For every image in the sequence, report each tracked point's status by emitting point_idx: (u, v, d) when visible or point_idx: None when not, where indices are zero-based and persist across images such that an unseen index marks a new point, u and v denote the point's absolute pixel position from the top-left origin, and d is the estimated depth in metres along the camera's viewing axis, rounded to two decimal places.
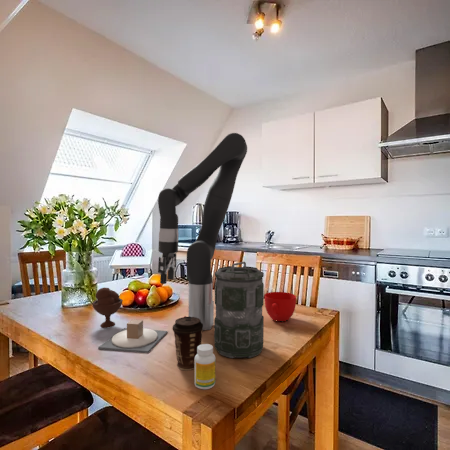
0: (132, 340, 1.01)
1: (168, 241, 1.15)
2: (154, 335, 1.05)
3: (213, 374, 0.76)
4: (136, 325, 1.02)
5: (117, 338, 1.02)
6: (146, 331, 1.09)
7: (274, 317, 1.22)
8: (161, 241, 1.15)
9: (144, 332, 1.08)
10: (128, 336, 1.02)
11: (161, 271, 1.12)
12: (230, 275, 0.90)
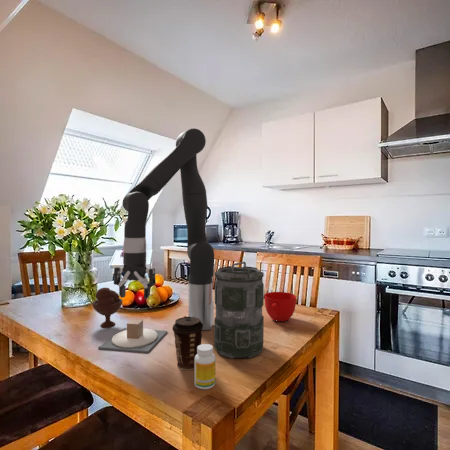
0: (132, 340, 1.01)
1: None
2: (154, 335, 1.05)
3: (213, 374, 0.76)
4: (136, 325, 1.02)
5: (117, 338, 1.02)
6: (146, 331, 1.09)
7: (274, 317, 1.22)
8: (141, 252, 1.01)
9: (144, 332, 1.08)
10: (128, 336, 1.02)
11: (154, 283, 1.03)
12: (230, 275, 0.90)
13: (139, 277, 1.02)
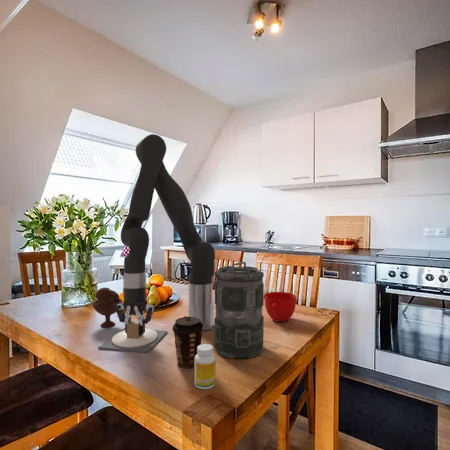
0: (132, 340, 1.01)
1: None
2: (154, 335, 1.05)
3: (213, 374, 0.76)
4: (136, 325, 1.02)
5: (117, 338, 1.02)
6: (146, 331, 1.09)
7: (274, 317, 1.22)
8: (141, 287, 1.02)
9: None
10: (128, 336, 1.02)
11: (149, 320, 1.03)
12: (230, 275, 0.90)
13: (137, 313, 1.02)
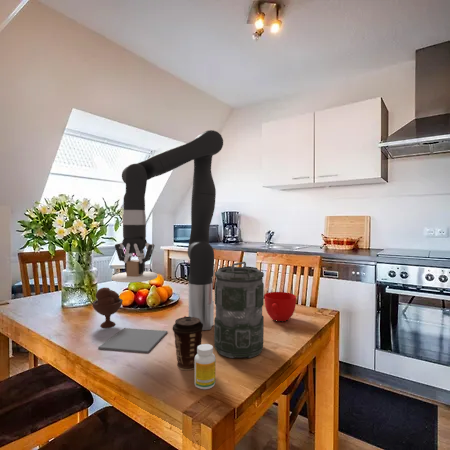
0: (132, 277, 1.00)
1: (145, 224, 1.04)
2: (154, 274, 1.05)
3: (213, 374, 0.76)
4: (136, 262, 1.01)
5: (116, 276, 1.02)
6: (146, 272, 1.08)
7: (274, 317, 1.22)
8: (141, 224, 1.01)
9: (144, 273, 1.07)
10: (128, 274, 1.02)
11: (148, 259, 1.03)
12: (230, 275, 0.90)
13: (137, 250, 1.01)
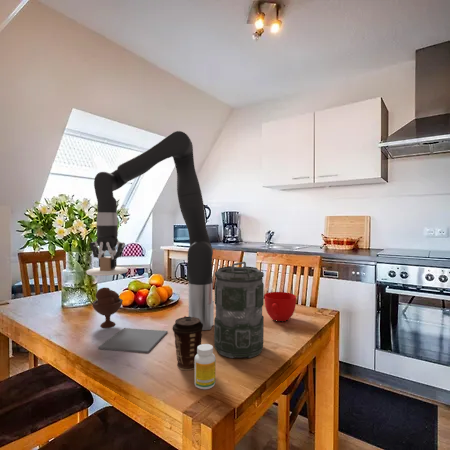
0: (104, 271, 1.14)
1: (117, 224, 1.18)
2: (125, 269, 1.19)
3: (213, 374, 0.76)
4: (108, 258, 1.15)
5: (91, 270, 1.16)
6: (118, 268, 1.22)
7: (274, 317, 1.22)
8: (113, 225, 1.15)
9: (116, 268, 1.21)
10: (101, 269, 1.16)
11: (119, 255, 1.17)
12: (230, 275, 0.90)
13: (109, 248, 1.16)
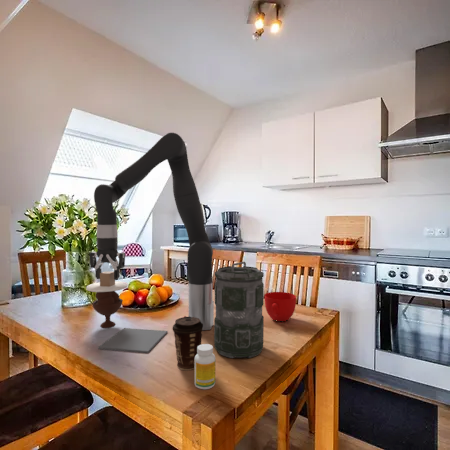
0: (104, 287, 1.14)
1: (117, 236, 1.18)
2: (125, 284, 1.19)
3: (213, 374, 0.76)
4: (108, 274, 1.16)
5: (91, 286, 1.16)
6: (118, 282, 1.22)
7: (274, 317, 1.22)
8: (112, 237, 1.15)
9: (116, 283, 1.21)
10: (101, 284, 1.16)
11: (122, 266, 1.17)
12: (230, 275, 0.90)
13: (110, 260, 1.16)
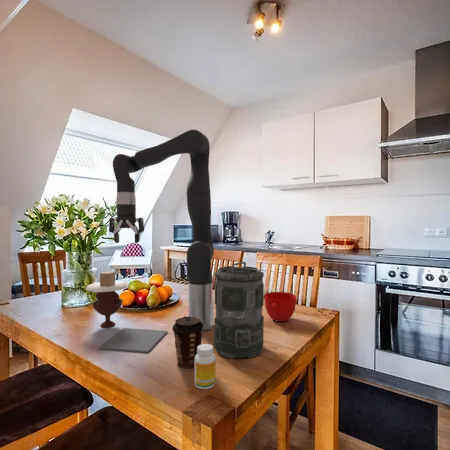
0: (104, 287, 1.14)
1: (135, 204, 1.26)
2: (125, 284, 1.19)
3: (213, 374, 0.76)
4: (108, 274, 1.16)
5: (91, 286, 1.16)
6: (118, 282, 1.22)
7: (274, 317, 1.22)
8: (132, 204, 1.23)
9: (116, 283, 1.21)
10: (101, 284, 1.16)
11: (142, 230, 1.25)
12: (230, 275, 0.90)
13: (130, 224, 1.23)
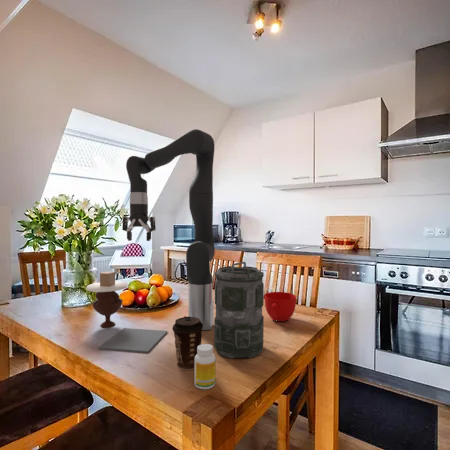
0: (104, 287, 1.14)
1: (147, 203, 1.31)
2: (125, 284, 1.19)
3: (213, 374, 0.76)
4: (108, 274, 1.16)
5: (91, 286, 1.16)
6: (118, 282, 1.22)
7: (274, 317, 1.22)
8: (144, 203, 1.29)
9: (116, 283, 1.21)
10: (101, 284, 1.16)
11: (154, 229, 1.30)
12: (230, 275, 0.90)
13: (142, 223, 1.29)
